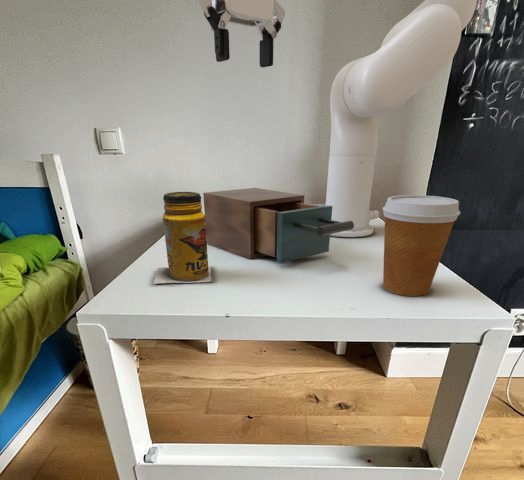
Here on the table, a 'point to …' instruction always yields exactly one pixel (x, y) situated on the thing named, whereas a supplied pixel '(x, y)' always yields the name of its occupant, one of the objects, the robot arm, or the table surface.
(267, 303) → the table surface
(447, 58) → the robot arm
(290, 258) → the drawer
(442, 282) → the table surface
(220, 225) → the cabinet
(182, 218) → the condiment
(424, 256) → the disposable coffee cup
